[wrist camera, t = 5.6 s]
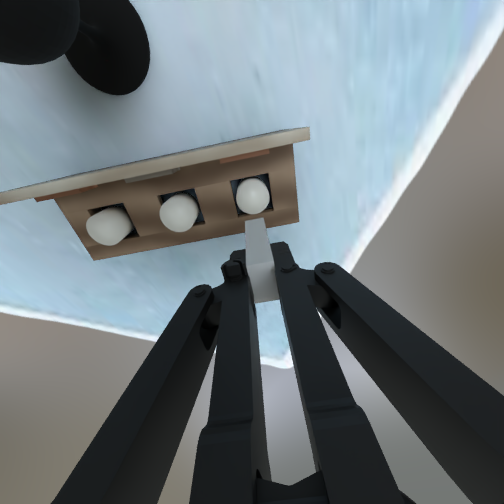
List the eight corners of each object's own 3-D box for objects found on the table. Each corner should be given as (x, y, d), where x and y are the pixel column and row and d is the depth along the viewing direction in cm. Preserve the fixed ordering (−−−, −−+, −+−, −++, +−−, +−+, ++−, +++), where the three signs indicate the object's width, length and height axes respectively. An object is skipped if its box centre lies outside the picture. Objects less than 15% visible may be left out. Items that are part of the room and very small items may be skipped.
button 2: (234, 179, 31) (232, 184, 27) (264, 172, 31) (266, 177, 27) (240, 208, 33) (240, 216, 29) (268, 202, 33) (271, 210, 29)
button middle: (164, 195, 30) (153, 203, 27) (194, 188, 30) (187, 196, 26) (175, 223, 32) (167, 234, 29) (203, 218, 32) (198, 228, 28)
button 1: (97, 208, 31) (79, 218, 27) (126, 202, 30) (111, 211, 27) (113, 236, 33) (97, 248, 29) (140, 230, 33) (127, 242, 29)
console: (75, 174, 33) (-27, 198, 20) (283, 129, 31) (309, 126, 18) (114, 243, 38) (53, 294, 26) (291, 209, 36) (315, 247, 24)
